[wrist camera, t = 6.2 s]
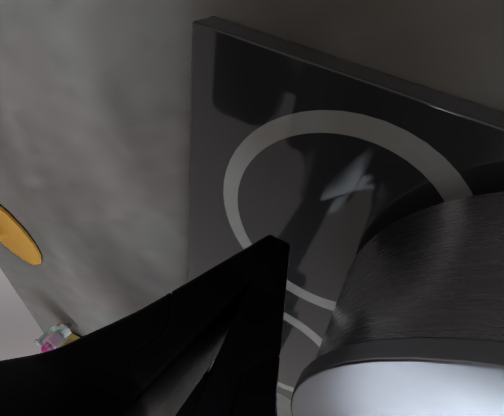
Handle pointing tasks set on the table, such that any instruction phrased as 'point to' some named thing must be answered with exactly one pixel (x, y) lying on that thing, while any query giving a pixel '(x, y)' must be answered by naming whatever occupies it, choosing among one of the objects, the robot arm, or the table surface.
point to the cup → (17, 239)
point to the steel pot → (417, 320)
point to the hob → (318, 164)
